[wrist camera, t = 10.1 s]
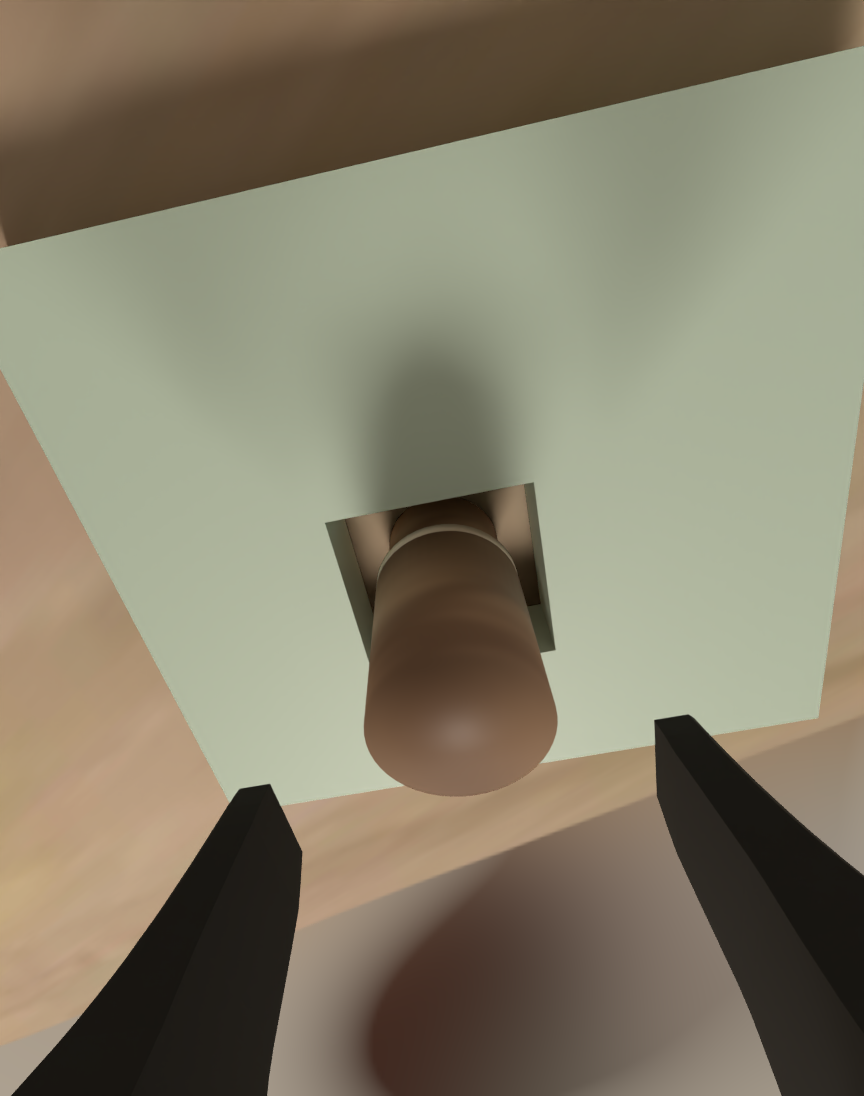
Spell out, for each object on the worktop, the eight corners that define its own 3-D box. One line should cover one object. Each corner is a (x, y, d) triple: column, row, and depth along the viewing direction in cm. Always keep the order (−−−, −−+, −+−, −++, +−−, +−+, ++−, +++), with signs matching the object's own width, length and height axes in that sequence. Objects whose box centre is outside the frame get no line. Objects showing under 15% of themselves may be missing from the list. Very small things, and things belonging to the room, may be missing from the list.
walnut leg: (498, 476, 19) (549, 637, 12) (512, 587, 21) (564, 782, 14) (367, 499, 19) (342, 669, 12) (394, 606, 21) (385, 808, 14)
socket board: (833, 60, 14) (910, 35, 12) (778, 668, 23) (818, 718, 21) (9, 253, 16) (-57, 261, 13) (251, 758, 24) (235, 813, 22)
